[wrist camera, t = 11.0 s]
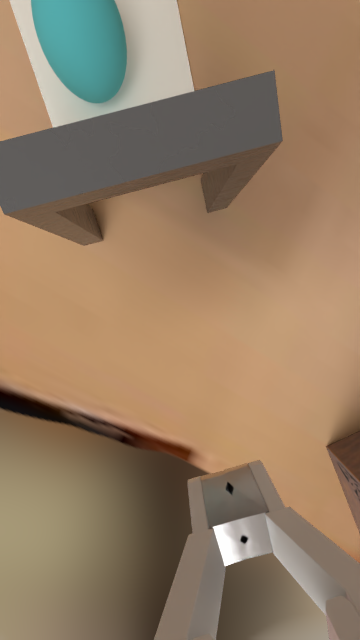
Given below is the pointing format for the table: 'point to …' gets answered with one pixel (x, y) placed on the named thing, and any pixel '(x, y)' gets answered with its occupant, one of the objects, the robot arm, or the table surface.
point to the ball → (83, 45)
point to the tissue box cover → (348, 470)
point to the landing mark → (142, 61)
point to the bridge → (141, 154)
